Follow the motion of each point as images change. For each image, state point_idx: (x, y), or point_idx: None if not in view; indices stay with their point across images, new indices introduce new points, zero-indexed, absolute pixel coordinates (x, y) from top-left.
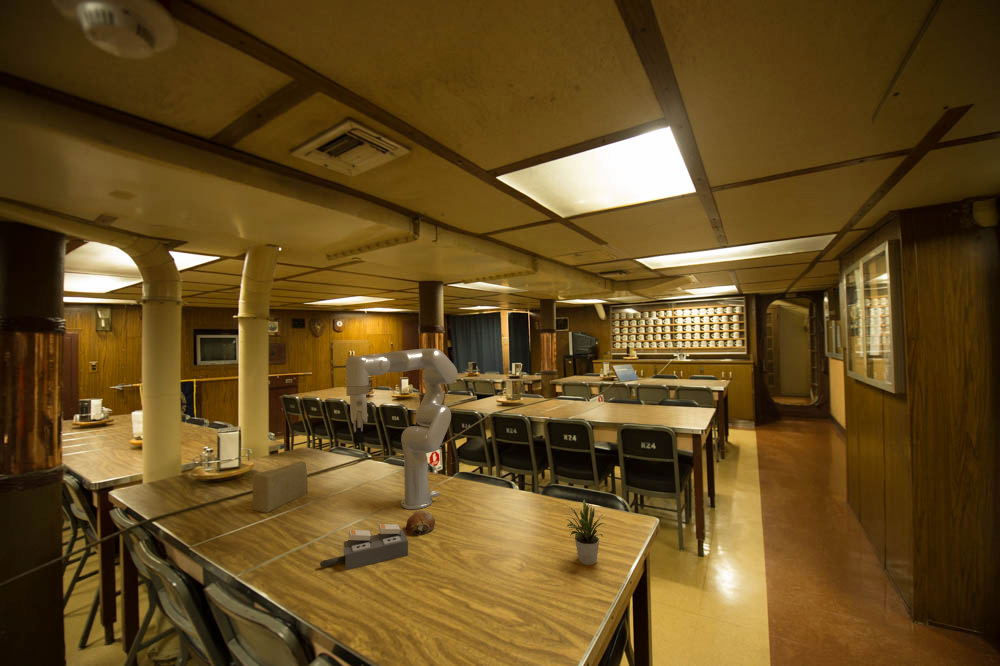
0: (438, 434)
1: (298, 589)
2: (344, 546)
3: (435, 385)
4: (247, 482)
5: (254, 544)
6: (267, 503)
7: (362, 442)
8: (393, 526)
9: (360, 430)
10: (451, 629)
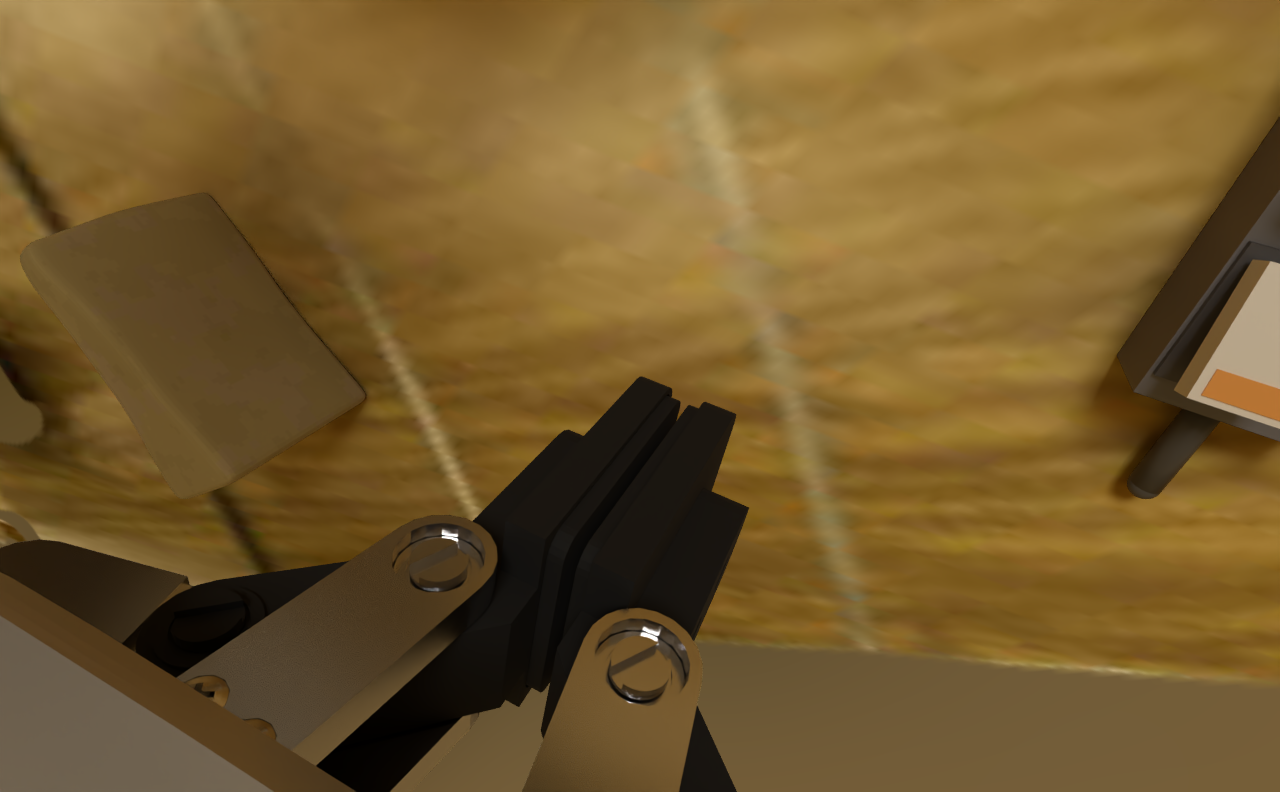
0: None
1: (1235, 608)
2: (1215, 419)
3: None
4: (42, 334)
5: None
6: (338, 414)
7: (733, 419)
8: None
9: (708, 744)
10: None
